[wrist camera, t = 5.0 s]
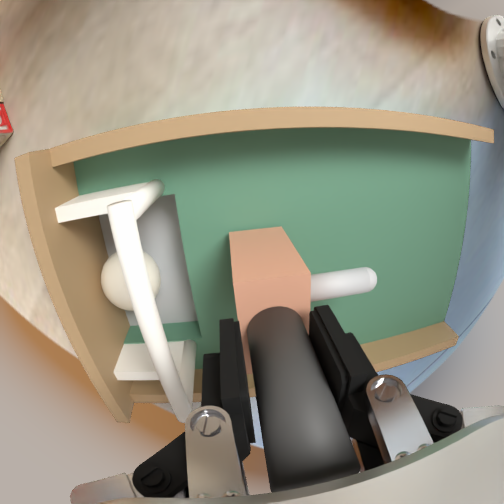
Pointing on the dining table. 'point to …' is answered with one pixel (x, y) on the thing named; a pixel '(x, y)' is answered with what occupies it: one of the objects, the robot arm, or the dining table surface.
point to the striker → (291, 357)
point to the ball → (116, 284)
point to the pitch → (246, 218)
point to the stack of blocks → (4, 123)
